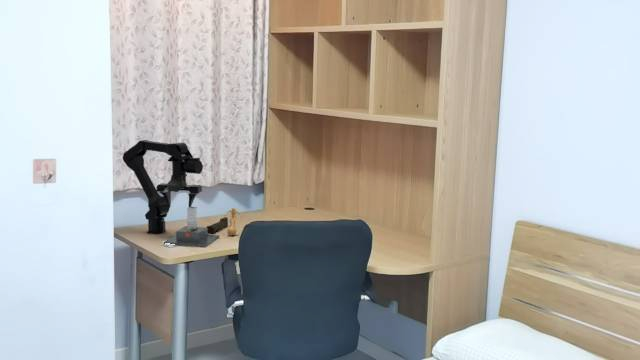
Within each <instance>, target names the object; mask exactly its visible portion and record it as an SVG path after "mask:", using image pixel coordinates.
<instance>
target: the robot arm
mask: <svg viewBox="0 0 640 360" xmlns="http://www.w3.org/2000/svg"><path fill="white" fill-rule="evenodd" d="M147 151H152V152H159V153H164V154H167V155H168V156H170V157H169V158H168V159H167V162H171V164H172V165H171V167H172V168H171V170H172V174H171V177H170V180H169V181H168V182H167V183H165V182H162V183H159V184H157V185H156V187H155V185H154V183H153V181H152V179H151V177H150V175H149V173H148V172H147V170H146V168H145V159H144V156H145V155H146V154H147ZM122 155H123V156H122V161H123V162H124V164H125V165H126V167H128V168H129V169H130V170H132V172H133V173H134V174H135V177H136V178H137V180H138V182H139V184H140V186H141V189H142V190H143V192H144V194H145V196H146V197H147V199H148V200H147V201H148V202H147V203H148V205H147V206H148V211H147V212H146V213H145V215H144V216H145V219H146V220H147V223H148V224H147V225H148V226H147V227H148V230H147V231H146V234H147V233H148V234H160V235H161V234H163V233H164V232H166V231H167V229H166V221H165V218H166V217H168V214H169V211H170V209H171V205H172V203H171V202H172V201H171V200H172V199H171V198H172V192H173V193H174V192H175V193H177V192H180V191H184V192H185V191H186V192H189V193H188V207H193V203H194V200H195V198H196V196H197V195H198V194H200V193H201V192H203V187H202V185H201V184H191V185H189V186H188V182H187V177H188V174H193V175H194V174H195V175H200V174H201V173H202V172H203V168H204V166H203V162H202V161H201V158H200V157H194V156H193V155H192V153H191V152H190V149H189V147H188V145H187V143H185V142H174V143H169V142H168V143H166V142H159V141H153V140H147V139H144V140H143V139H141V140H139V141H138V142H137V143H136V144H134V145H133V146H132V147H130V148H128V150H126V151H124V152H123V154H122ZM158 192H159V193H158ZM160 194H161V195H160Z"/></svg>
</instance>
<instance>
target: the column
mask: <svg viewBox="0 0 640 360" xmlns="http://www.w3.org/2000/svg"><path fill="white" fill-rule="evenodd" d="M186 209H187V211H186V212H187V216H186V217H187V218H186V221H187V222H186V223H187V225H186V226H187V229H192V230H195V229H197V227H198V223H197V222H198V221H197V219H198V217H197V215H198V214H197V213H198V212H197V210H198V209H197V207H196V206H191V207H189V206H188V207H187V208H186Z"/></svg>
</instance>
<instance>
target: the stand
mask: <svg viewBox="0 0 640 360" xmlns="http://www.w3.org/2000/svg"><path fill="white" fill-rule="evenodd" d="M206 227H207V226H206ZM206 227H205V226H204V227H203V226H202V227H201V226H197V229H195V230H192V229H187V225H186V226H185V225H184V226H183V227H181V228H180V229H178V230H176V231H175V234H176V235H173V236H172V237H170V238H169V239H167V240H165V241H163V245H164V244H165V243H170V244H175V245H174V246H176V245H177V247H179V246H180V247H181V246H182V247H193V248H194V247H195V248H196V247H197V248H206V247H208V246H210V245H211V244H213V243H214V242H215V241H217V240H218V239H219V238H220V234H219V235H218V234H208V233H207V228H206Z"/></svg>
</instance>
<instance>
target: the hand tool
mask: <svg viewBox="0 0 640 360" xmlns="http://www.w3.org/2000/svg"><path fill="white" fill-rule="evenodd" d="M228 226H229V219H228V217H226V216H225V218H224V217H222V218H220V219H219V221H217V222H215V223H212V224H211V225H208V226H206V228H207V233H208V235H215V233H216V232H218V231H220V230H221V229H227V227H228Z"/></svg>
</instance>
